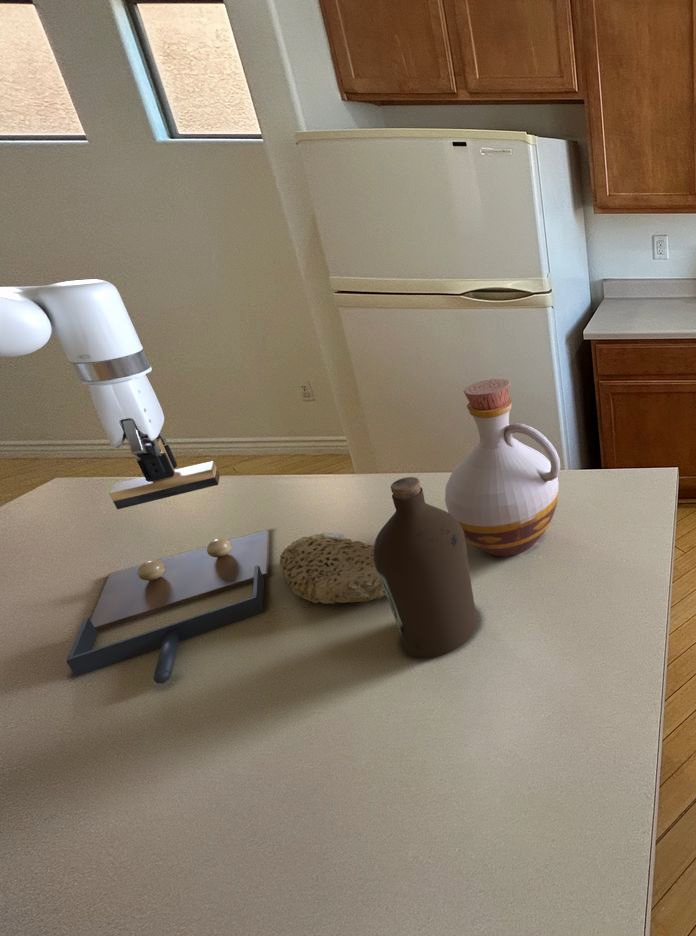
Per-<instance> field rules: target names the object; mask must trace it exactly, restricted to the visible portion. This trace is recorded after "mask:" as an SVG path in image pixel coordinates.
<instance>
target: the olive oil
mask: <svg viewBox="0 0 696 936" xmlns="http://www.w3.org/2000/svg"><path fill="white" fill-rule="evenodd" d="M390 490H391V493H392V495H391V498H392V502H393V505H394V509H395V512H394V513H393V514H392V516H391V517H390V518H389V519H388V520H387V522H386V523H385V524H384V525H383V526H382V528H381V529H380V531H379V532H378V534H377V535H376V538H375V541H374V545H373V546H374V563H375V567H376V570H377V572H378V575H379V577H380V580H381V583H382V585H383V588H384V590H385V593H386V596H385V597H386V598H387V602H388V604H389V607H390V609H391V612H392V614H393V618H394V620H395V623H396V627H397V628H398V629H397V630H398V631H399V634H400V637H401V641H402V644H403V647H404V649H405V650H406V652H407V653H408V654H409V655H411V656H413V657H416V658H419V659H432V658H438V657H442V656H445V655H447V654H450V653H452V652H454V651H455V650H457V649H459V648H461V647H462V646H463V645H464V644H465V643H467V642H468V641H469V639H470V638H471V637H472V636H473V635H474V634H475V633H474V632H475V631H476V629H477V626H478V617H477V616H478V615H477V610H476V605H475V599H474V593H473V585H472V580H471V579H472V578H471V572H470V566H469V565H470V564H469V558H468V551H467V550H468V549H467V540H466V539H465V535H464V532H463V529H462V527H461V526H460V524H459V523H458V521H457V520H456V519H455V517H454V516H452V515H451V514H450V513H448V511H446V510H444V509H442V508H439V507H436V506H433V505H431V504H429V503H427V502H426V499H425V495H424V491H423V490H424V489H423V488H422V486H421V482H420V479H419V478H418V477H414V476H407V477H402V478H400V479H397V480H396V481H393V482H392V483H391V485H390Z"/></svg>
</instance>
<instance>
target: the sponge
mask: <svg viewBox="0 0 696 936" xmlns="http://www.w3.org/2000/svg"><path fill="white" fill-rule="evenodd" d="M279 557H280V558H279V564H280V569H281V571H280V572H282V575H283V577H284V578H285V579H286V582H287V584H288V585H289V587H290V589H291V591H292V592H293V593H294V595H296V596H298V597H300V598H302V599H303V600H307V601H309V602H311V603H315V604H318V603H319V602H320V603H321V604H323V605H324V604H337V603H338V604H339V603H341V604H344V603H361V602H362V603H363V602H370V601H372V600H377V599H380V598H382V597H387V596H386V593H385V590H384V588H383V585H382V583H381V580H380V577H379V575H378V572H377V570H376V567H375V563H374V545H372V544H367V543H364V542H362V541H360V540H356V541H353V540H352V539H350V538H347V537H345V535H344V534H343V533H338V532H322V533H316V534H312V535H309V536H302V537H300V538H299V539H296V540H294V541H292V542H291V544H289V545H288V546H286V548H284V549H283V551H282V552H281V554H280V556H279Z"/></svg>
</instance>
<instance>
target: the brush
mask: <svg viewBox="0 0 696 936" xmlns="http://www.w3.org/2000/svg"><path fill="white" fill-rule="evenodd" d="M156 440H157V442H158V444H159V446H160V449H161V451H162V453H166V455H167V458H168V460H169V462H170V464H171V466H172V469H173V471H174V476H172V477H169V478H164V479H160V480H156V481H151V482H148V481H146V479H145V477H144V476H142V477H136V478H131V479H126V480H123V481H119V482H114V483H113V485H112V486H111V489H110V491H109V492H108V494H109V496H110V499H111V501H112V502H113V504H114V506H115V508H116V510H122V509H125V508H130V507H134V506H138V505H143V504H147V503H150V502H154V501H159V500H162V499H163V500H164V499H167V498H170V497H174V496H178V495H182V494H187V493H190V492H195V491H199V490H203V489H207V488H211V487H215V486H218V485H219V482H220V477H221V476H220V475H221V474H220V473H219V472H220V471H218V468H217V465H216V463H215V461H214V460H211V461H207V462H202V463H198V464H193V465H189V466H185V467H180V468H173V465H172V463H171V461H170V459H169V457H168V454H167V452H166V450H165V448H164V446H165V445H163V443H162V441H161V439H160V438H159V439H156ZM144 445H150V446H152V445H151V443H147V444H144Z"/></svg>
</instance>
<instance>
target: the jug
mask: <svg viewBox="0 0 696 936" xmlns="http://www.w3.org/2000/svg"><path fill="white" fill-rule="evenodd" d="M510 386H511V382H510V380H508V379H504V378H493V379H492V378H491V379H486V380H481V381H477V382H473V383H472V384H469V385H468V386H466V387H465V388H464V390H463V394H464V395H465V397H466V399H467V401H468V403H467V405H466V408H467V411H468V413H469V414H470V416H472V417H473V419H474V422H475V424H476V426H477V428H476V429H477V432H478V435H479V442H478V443H477V444H476V445H475V447H474V448H473V449H472V450H471V451H470V452H469V453H468V455H467V456H466V457H465V458H463V459H462V460H461V461H460V462H459V463H458V465H456V466H455V468H454V469H453V470H452V472H451V473H450V476H449V477H448V480H447V482H446V484H445V493H444V502H445V506H446V509H447V512H448V513H450V514H451V515H452V516H454V517H455V519H456V520H457V521H458V523H459V524H460V526H461V527H462V529H463V532H464V535H465V541H466V542H468V543H469V544H471V545H473V546H474V547H477V548H478V549H480V550H481V551H483V552H486V553H488V554H490V555H492V556H495V557H512V556H517V555H520V554H523V553H524V552H526V551H528V550H530V549H531V548H532V547H533V546H534V545H535V544H536V543H537V542H538V541H539V539H540V538H541V537H542V536H543V534H544V533H545V532H546V530H547V529H548V528H549V526H550V525H551V523H552V521H553V518H554V515H555V513H556V510H557V509H556V508H557V504H558V499H559V492H560V491H559V489H560V488H559V486H560V485H559V477H558V476H559V474H560V470H561V461H560V457H559V454H558V451H557V450H556V448H555V447H554V445H553V444H552V442H551V441H550V440H549V439H548V438H547V437H546V436H545V435H544V434H543V433H541V432H540V431H539V430H537V429H536V428H533V427H532V426H530V425H527V424H524V423H512V424H510V411H511V410H512V407H513V406H512V405H513V399H512V397H510V396H509V393H510V389H511V388H510ZM515 433H519V434H522V435H525V436H528V437H529V438H530V439H533V440H534V441H535V442H536V443H537V444H539V446H540V447H541V448H542V449H543V450H544V452H545V453H546V455H547V457H548V458H547V457H546V456H545V455H544V454H543V453H542V452H539V451H538V450H536V449H534V448H533V447H530V446H529V445H526V444H525V443H522V442H521V441H519V440H517V439H516V438H514V437H513V434H515Z"/></svg>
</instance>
